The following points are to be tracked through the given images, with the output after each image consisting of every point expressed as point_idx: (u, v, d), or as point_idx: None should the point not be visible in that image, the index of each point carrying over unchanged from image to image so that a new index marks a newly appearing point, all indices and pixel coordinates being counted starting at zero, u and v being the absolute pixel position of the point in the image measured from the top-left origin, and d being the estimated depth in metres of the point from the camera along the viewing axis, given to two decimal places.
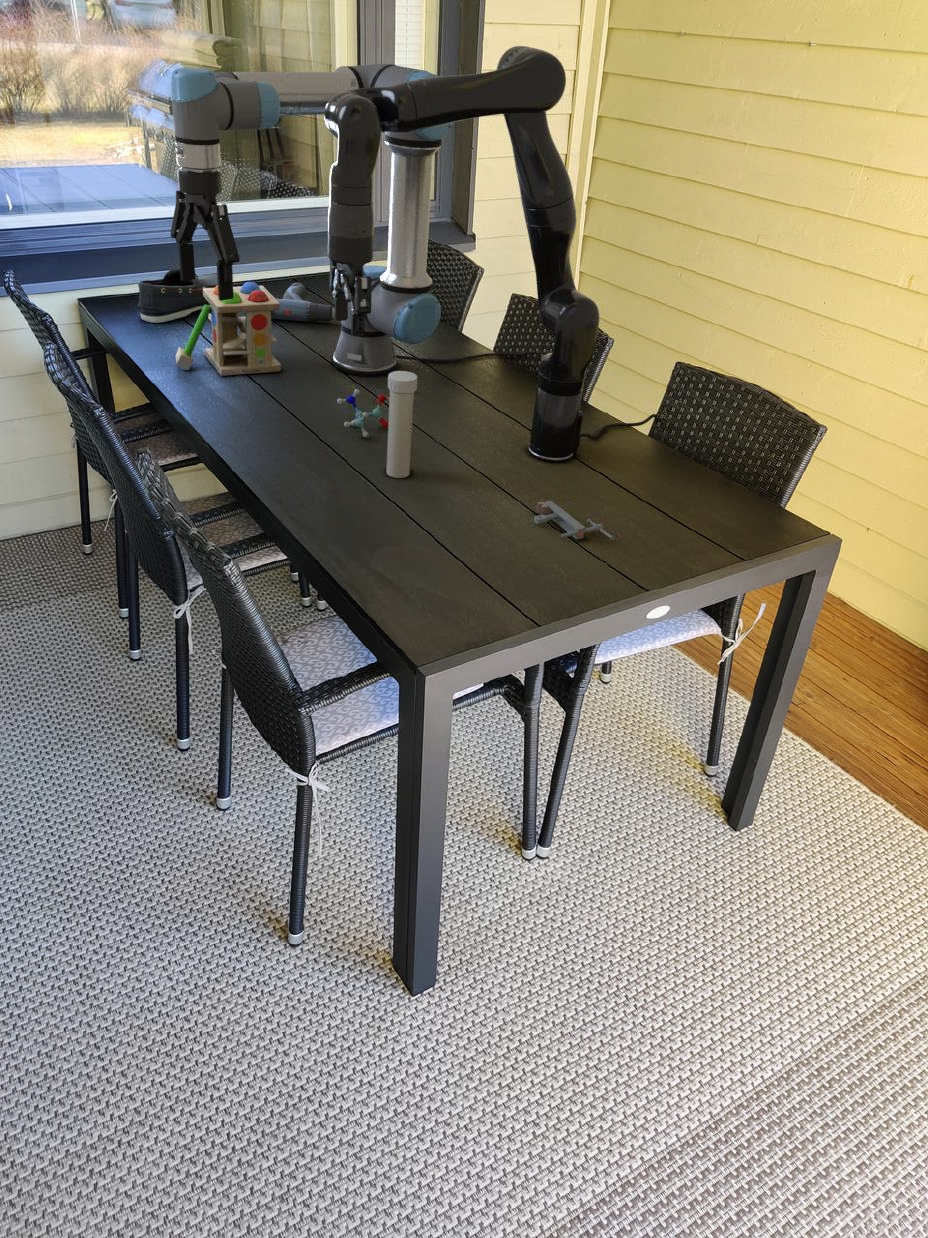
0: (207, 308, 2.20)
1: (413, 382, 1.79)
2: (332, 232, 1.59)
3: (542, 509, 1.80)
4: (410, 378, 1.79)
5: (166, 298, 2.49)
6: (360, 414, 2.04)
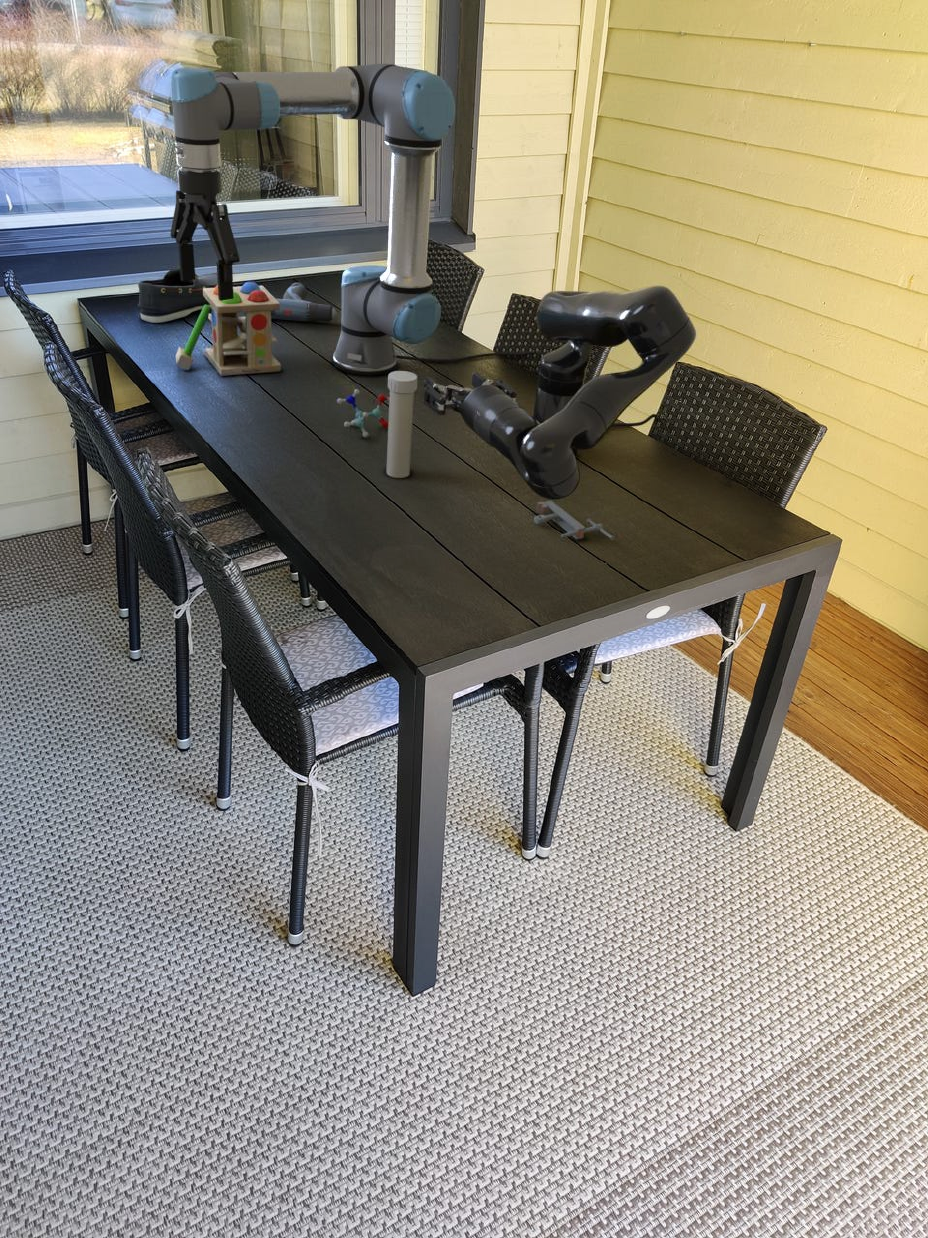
0: (207, 308, 2.20)
1: (413, 382, 1.79)
2: (492, 396, 1.47)
3: (542, 509, 1.80)
4: (410, 378, 1.79)
5: (166, 298, 2.49)
6: (360, 414, 2.04)
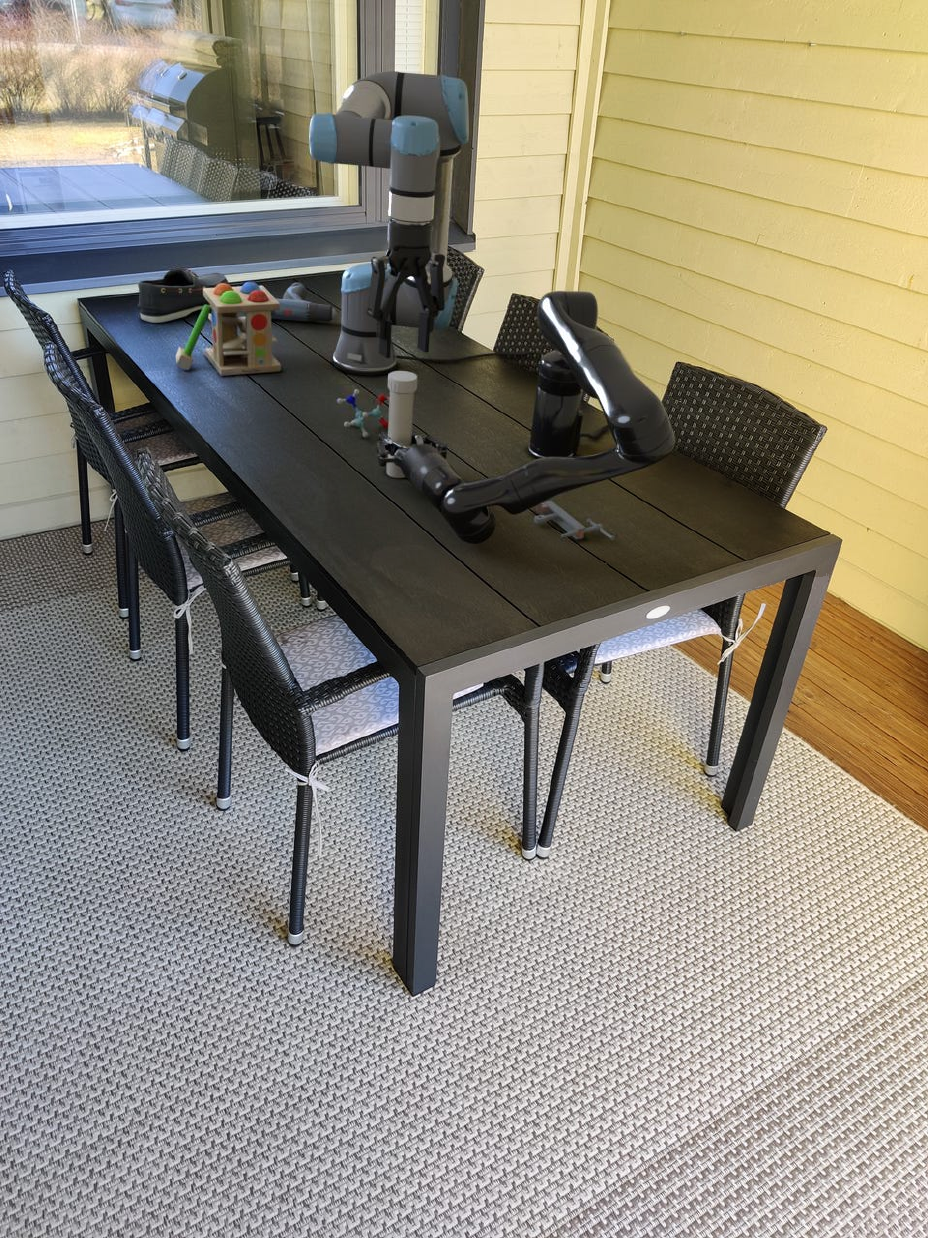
0: (207, 308, 2.20)
1: (413, 381, 1.79)
2: (425, 455, 1.74)
3: (542, 509, 1.80)
4: (410, 378, 1.79)
5: (166, 298, 2.49)
6: (360, 414, 2.04)
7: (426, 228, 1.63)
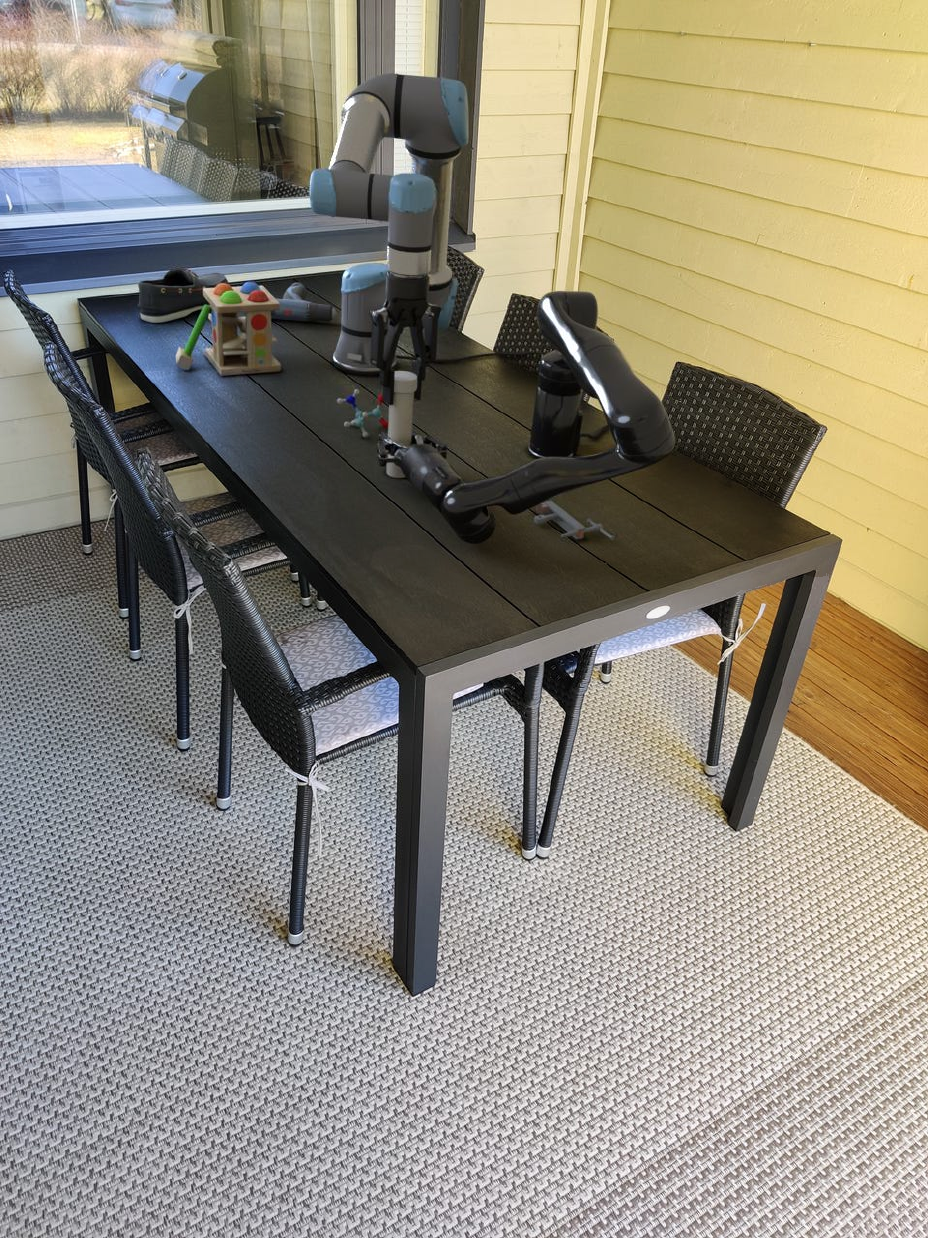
0: (207, 308, 2.20)
1: (413, 381, 1.79)
2: (425, 455, 1.74)
3: (542, 509, 1.80)
4: (410, 378, 1.79)
5: (166, 298, 2.49)
6: (360, 414, 2.04)
7: (423, 280, 1.68)
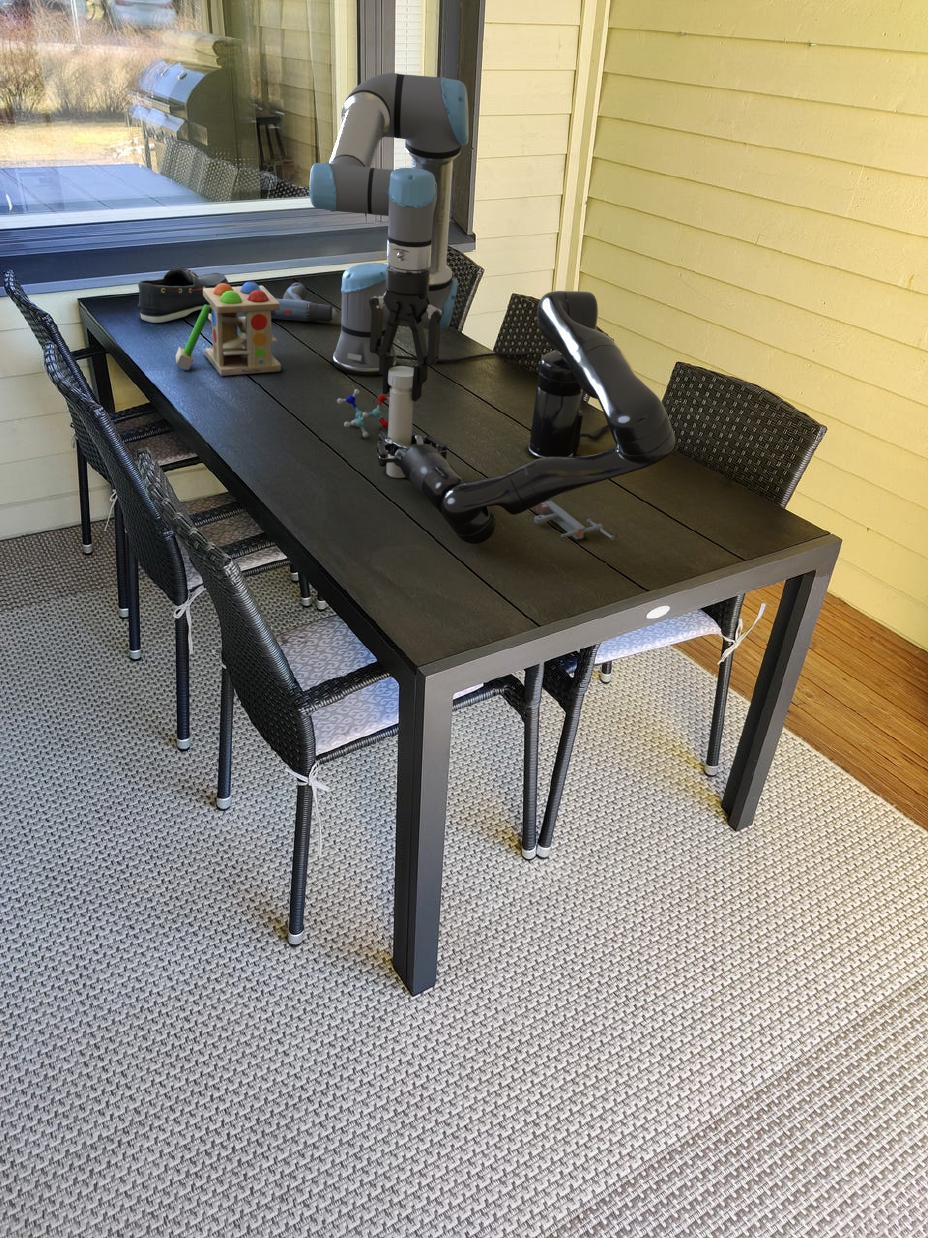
0: (207, 308, 2.20)
1: None
2: (425, 455, 1.74)
3: (542, 509, 1.80)
4: (403, 367, 1.81)
5: (166, 298, 2.49)
6: (360, 414, 2.04)
7: None
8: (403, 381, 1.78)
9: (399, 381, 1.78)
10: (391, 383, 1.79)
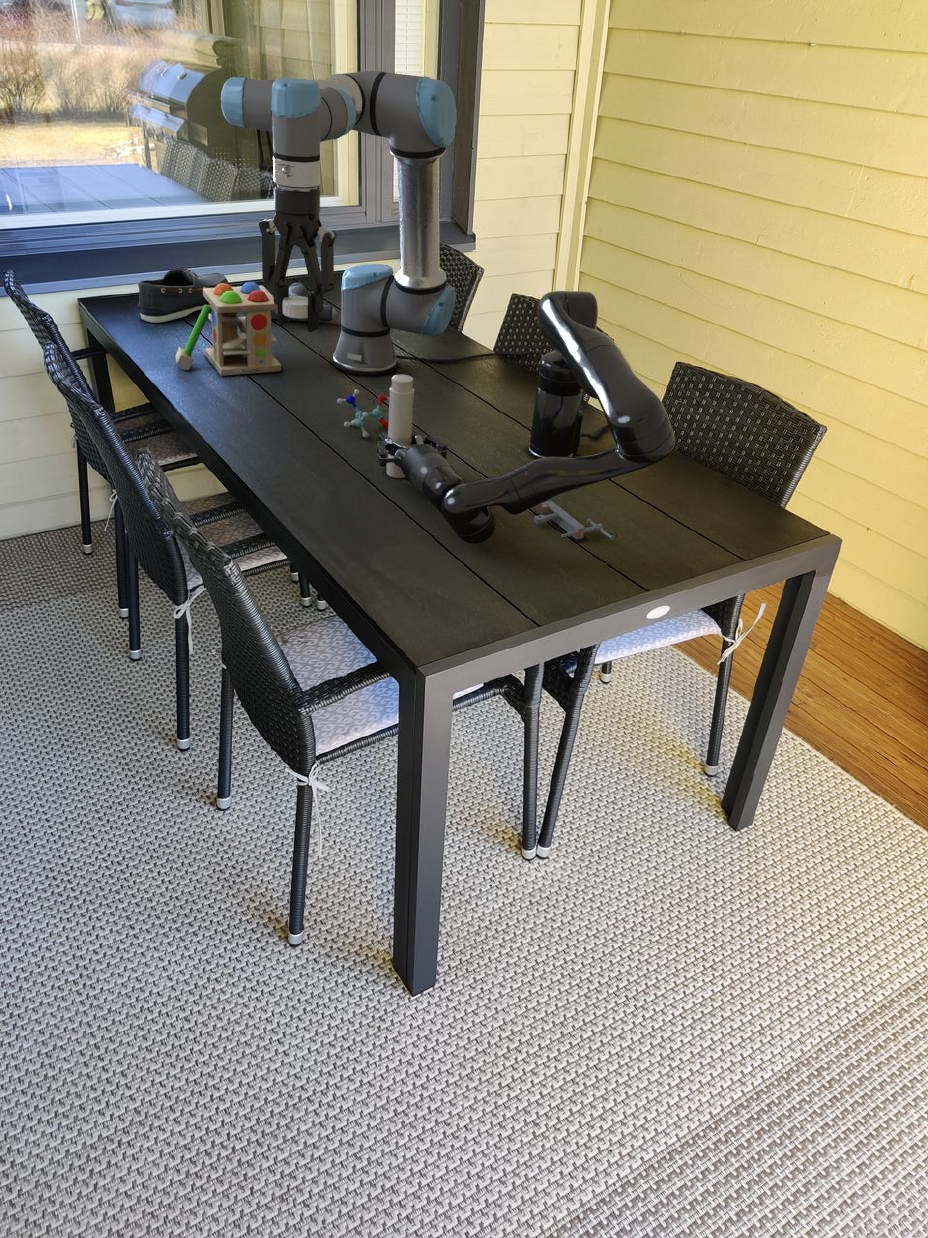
0: (207, 308, 2.20)
1: None
2: (425, 455, 1.74)
3: (542, 509, 1.80)
4: (298, 297, 1.73)
5: (166, 298, 2.49)
6: (360, 414, 2.04)
7: None
8: (297, 310, 1.70)
9: (293, 310, 1.70)
10: (285, 313, 1.71)
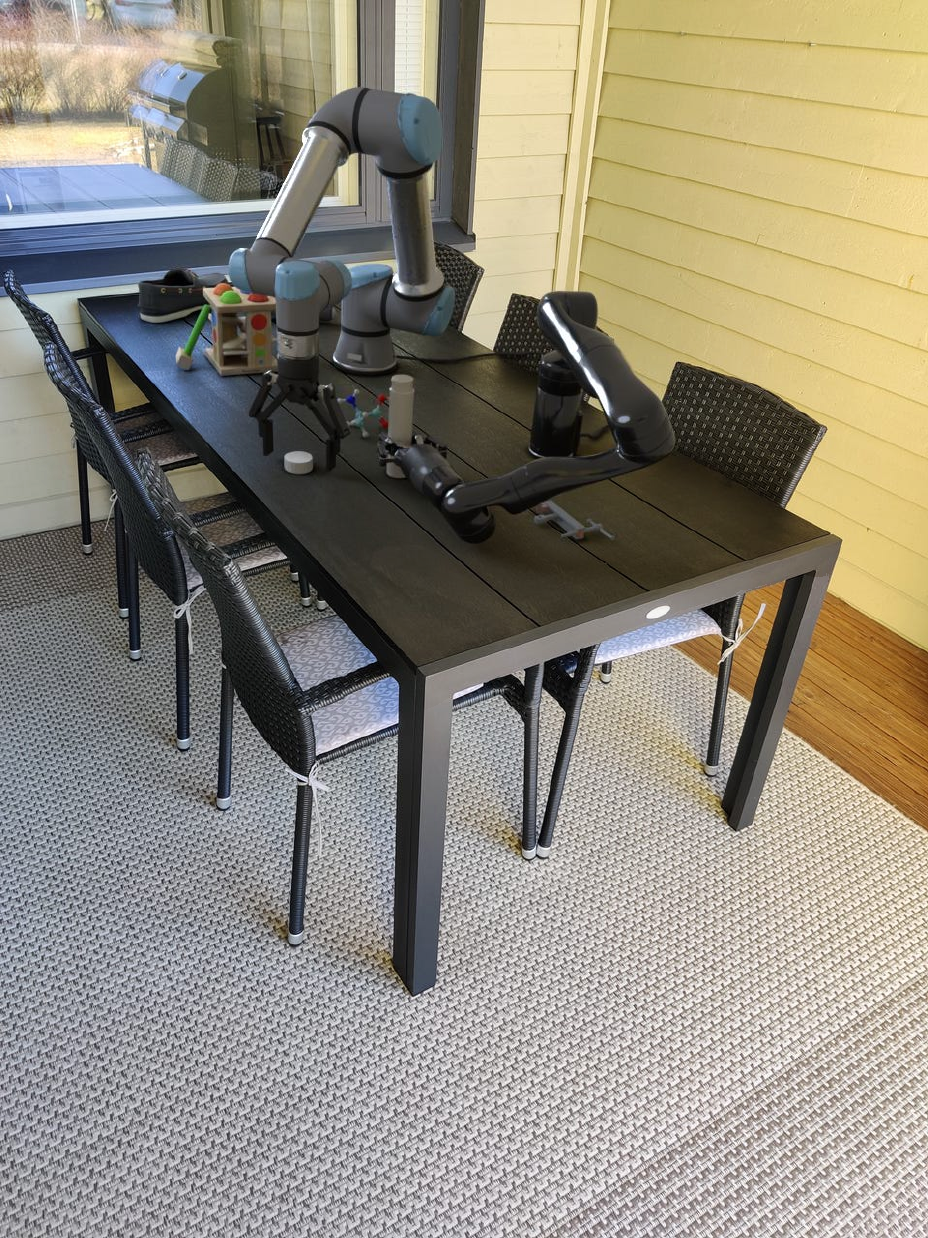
0: (207, 308, 2.20)
1: None
2: (425, 455, 1.74)
3: (542, 509, 1.80)
4: (299, 453, 1.89)
5: (166, 298, 2.49)
6: (360, 414, 2.04)
7: None
8: (298, 467, 1.86)
9: (294, 467, 1.86)
10: (287, 468, 1.87)
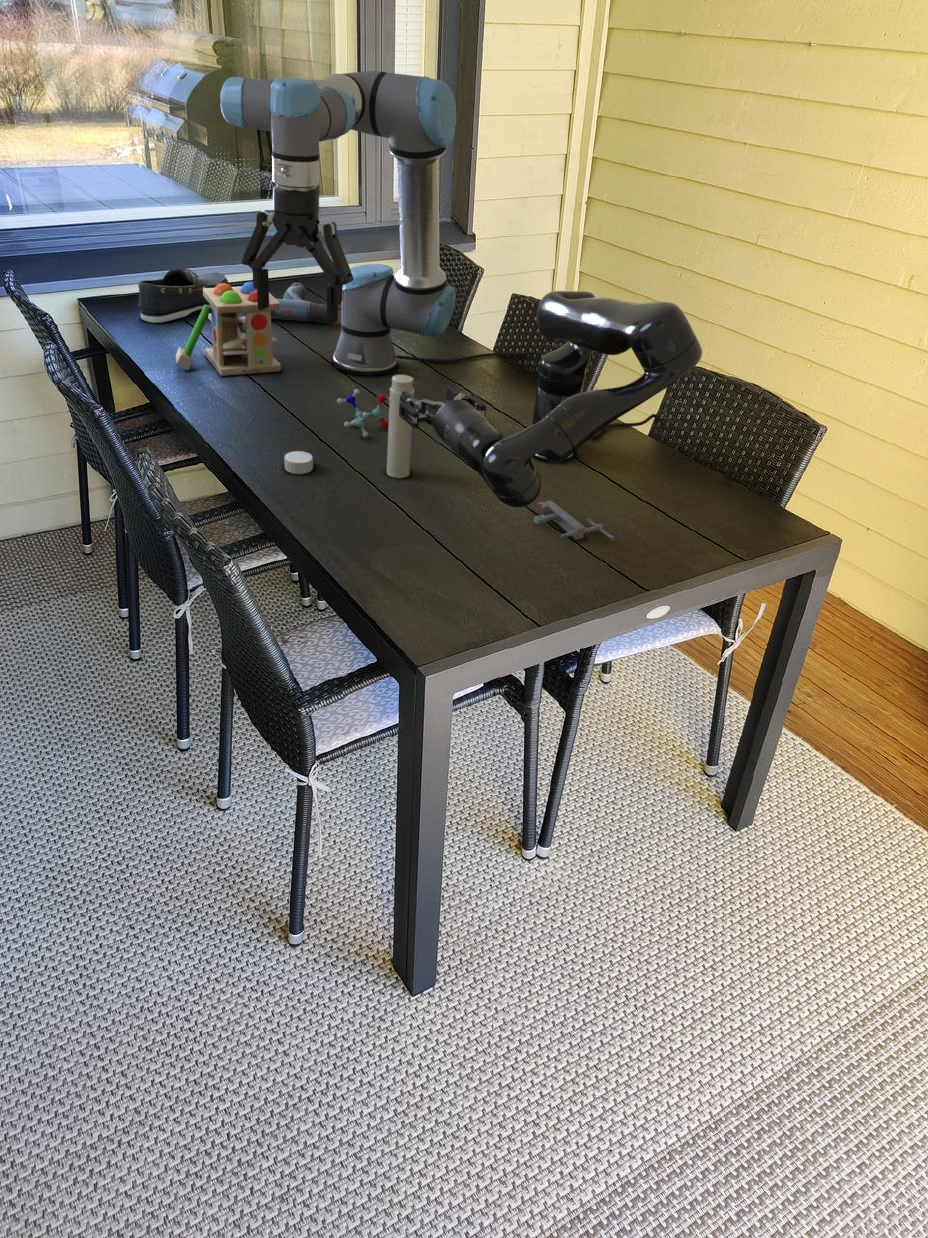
0: (207, 308, 2.20)
1: None
2: (461, 410, 1.58)
3: (542, 509, 1.80)
4: (299, 453, 1.89)
5: (166, 298, 2.49)
6: (360, 414, 2.04)
7: None
8: (298, 467, 1.86)
9: (294, 467, 1.86)
10: (287, 468, 1.87)
